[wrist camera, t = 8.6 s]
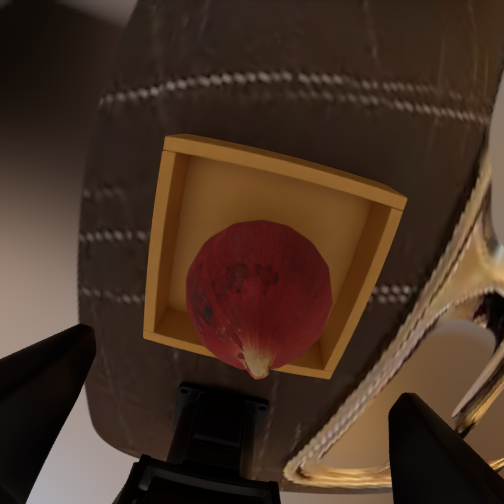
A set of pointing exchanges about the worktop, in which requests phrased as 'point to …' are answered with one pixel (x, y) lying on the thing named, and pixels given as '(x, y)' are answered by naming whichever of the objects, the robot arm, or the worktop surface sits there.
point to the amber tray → (271, 209)
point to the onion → (258, 295)
